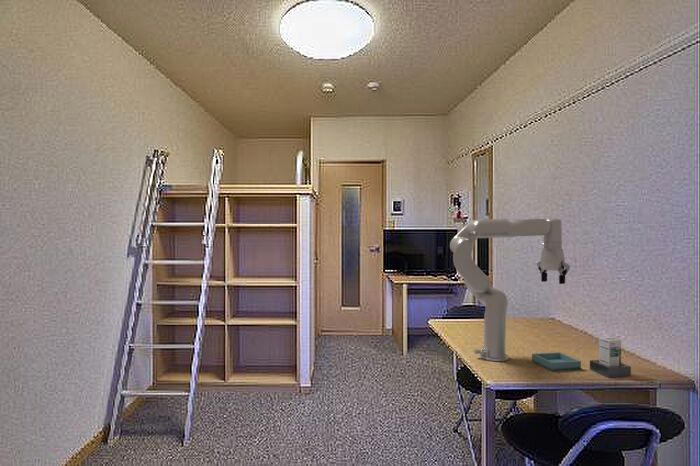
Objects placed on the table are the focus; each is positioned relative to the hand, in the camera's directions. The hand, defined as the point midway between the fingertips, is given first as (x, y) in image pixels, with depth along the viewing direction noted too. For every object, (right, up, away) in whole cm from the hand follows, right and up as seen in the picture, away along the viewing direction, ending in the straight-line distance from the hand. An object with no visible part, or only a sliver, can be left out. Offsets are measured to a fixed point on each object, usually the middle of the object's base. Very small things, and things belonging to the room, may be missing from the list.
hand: (553, 282), depth 209 cm
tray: (-4, -35, -11) cm, 37 cm away
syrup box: (+14, -36, -20) cm, 44 cm away
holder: (+14, -36, -20) cm, 43 cm away
